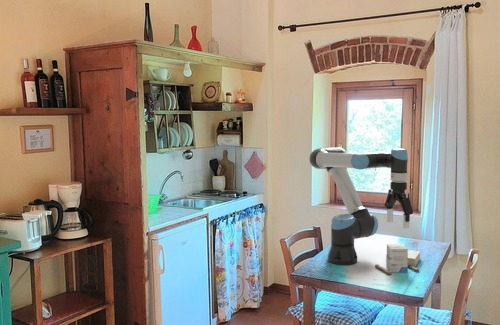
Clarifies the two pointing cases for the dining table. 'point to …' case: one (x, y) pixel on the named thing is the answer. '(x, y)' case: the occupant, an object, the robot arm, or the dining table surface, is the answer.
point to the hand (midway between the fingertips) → (397, 225)
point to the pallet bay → (390, 272)
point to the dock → (412, 257)
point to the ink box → (397, 258)
